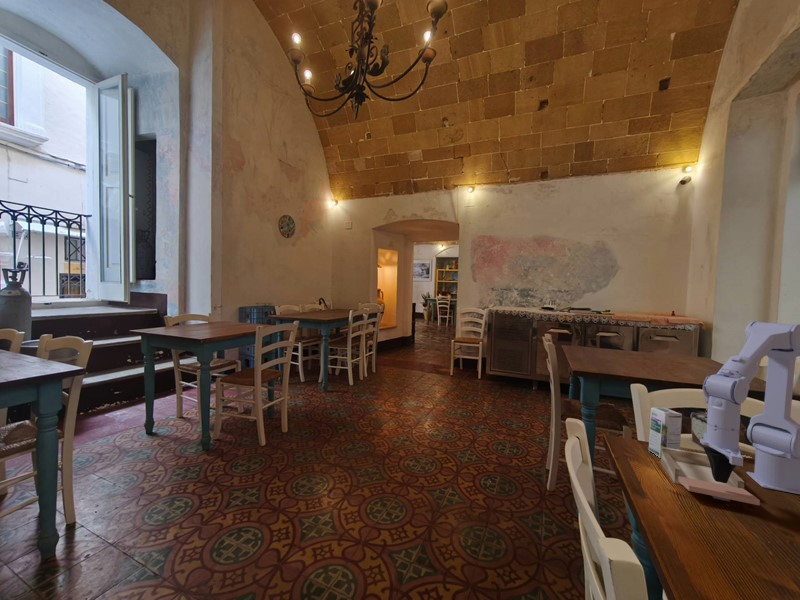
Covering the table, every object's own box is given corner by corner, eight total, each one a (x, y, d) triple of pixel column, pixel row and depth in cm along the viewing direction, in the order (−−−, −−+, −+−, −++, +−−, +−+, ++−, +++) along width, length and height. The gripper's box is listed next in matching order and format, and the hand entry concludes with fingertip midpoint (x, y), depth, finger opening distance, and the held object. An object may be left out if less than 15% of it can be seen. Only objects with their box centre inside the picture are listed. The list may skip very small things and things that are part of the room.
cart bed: (720, 474, 96) (721, 456, 96) (743, 497, 85) (744, 477, 85) (660, 463, 101) (661, 446, 101) (674, 483, 90) (675, 465, 90)
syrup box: (647, 451, 109) (649, 407, 108) (664, 451, 109) (666, 407, 109) (662, 460, 103) (664, 413, 103) (680, 460, 104) (682, 413, 103)
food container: (736, 458, 106) (738, 427, 105) (713, 456, 107) (715, 425, 107) (709, 441, 118) (710, 413, 117) (689, 439, 119) (690, 411, 119)
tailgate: (743, 488, 84) (759, 499, 78) (743, 497, 84) (759, 509, 78) (678, 476, 89) (688, 485, 83) (678, 483, 89) (688, 494, 83)
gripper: (690, 413, 90) (687, 463, 90) (715, 433, 77) (712, 492, 77) (724, 417, 87) (722, 469, 87) (756, 440, 74) (753, 501, 74)
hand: (720, 481), depth 82 cm, fingers closed
